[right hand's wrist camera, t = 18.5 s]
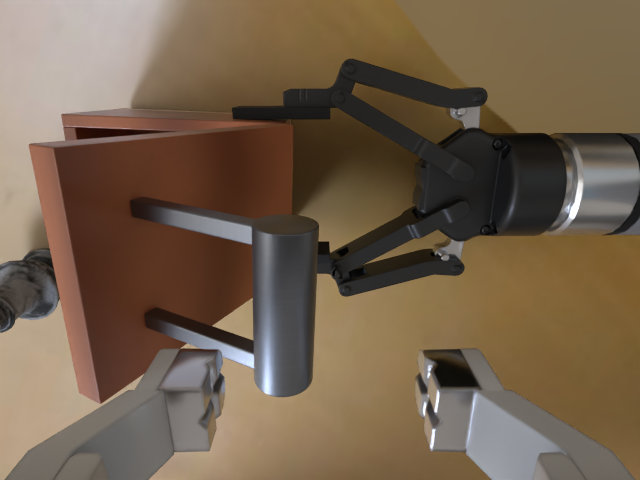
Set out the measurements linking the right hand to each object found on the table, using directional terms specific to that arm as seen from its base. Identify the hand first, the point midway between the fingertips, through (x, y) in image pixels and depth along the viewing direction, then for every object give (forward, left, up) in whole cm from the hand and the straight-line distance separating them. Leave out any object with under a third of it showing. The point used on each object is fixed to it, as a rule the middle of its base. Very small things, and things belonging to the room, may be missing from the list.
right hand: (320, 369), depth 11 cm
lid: (-6, +2, -11) cm, 12 cm away
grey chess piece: (-28, -1, -27) cm, 39 cm away
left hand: (-5, +2, -21) cm, 21 cm away
